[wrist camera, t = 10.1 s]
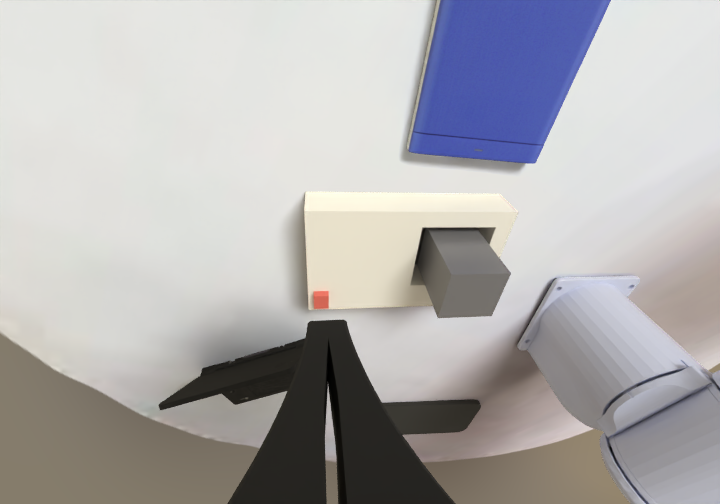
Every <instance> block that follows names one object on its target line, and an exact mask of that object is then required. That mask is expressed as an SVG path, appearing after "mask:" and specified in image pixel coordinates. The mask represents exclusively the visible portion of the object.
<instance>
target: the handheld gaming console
mask: <svg viewBox="0 0 720 504" xmlns="http://www.w3.org/2000/svg"><path fill="white" fill-rule="evenodd" d="M304 342H305V339H301V340H298V341H296V342H292V343H289V344H285V345H284V347H283V346H280V348H279V347H275V348H272V349H268V350H265V351H261V352H258V353H254V354H251V355H248V356H244V357H241V358H238V359H235V361H233V362H232V361H228V362H224V363H221V364H217V365H213V366H209V367H206V368H202V373H201V376H200V377H198V378H196V379H195V380H193V381H192V382H190V383H189V384H187V385H186V386H185V387H183V388H182V389H180V390H179V391H177V392H176V393H174V394H173V395H172V396H170V397H169V398H167V399H166V400H164V401H163V402H161V403H160V404H159V408H160V410H164V409H167V408H171V407H175V406H178V405H182V404H185V403H189V402H192V401H196V400H200V399H203V398H207V397H210V396H214V395H218V394H221V393H222V394H223V395H224V396H225V397H226V398H228V399H229V400H230V401H231V402H232V403H233V404H235V405H236V404H240V403H244V402H247V401H251V400H255V399H259V398H262V397H266V396H270V395H273V394H277V393H281V392H284V391H288V389H289V387H290V384H291V382H292V379H293V377H294V374H295V371H296V368H297V365H298V362H299V359H300V356H301V353H302V350H303V346H304Z"/></svg>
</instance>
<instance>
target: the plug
mask: <svg viewBox="0 0 720 504" xmlns="http://www.w3.org/2000/svg"><path fill="white" fill-rule="evenodd" d="M417 266H418V269H419V271H420V274H421V276H422V279H423V282H424V284H425V287H426V289H427V292H428V294H429V297H430V299H431V302H432V304H433V307H434V309H435V312H436V314H437V317H438V318H451V317H477V316H492V314H493V312H494V310H495V307H496V305H497V303H498V301H499V299H500V296H501V294H502V292H503V290H504V287H505V285H506V283H507V281H508V279H509V276H510V274H511V273H510V272H509V270H508V269H507V268H506V266H505V265H504V264H503V262H502V261H501V260H500V258H499V257H498V256H497V254H496V253H495V252H494V250H493V249H492V248H491V246H490V245H489V244H488V242H487V241H486V240H485V238H484V237H483V236H482V234H481V233H480V232H479V230H478V229H477V228H476V227H425V232H424V236H423V241H422V246H421V250H420V255H419V259H418V264H417Z"/></svg>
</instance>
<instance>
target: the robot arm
mask: <svg viewBox="0 0 720 504" xmlns="http://www.w3.org/2000/svg"><path fill="white" fill-rule="evenodd" d="M639 282H640V279H639V278H638V277H637V276H601V277H561V278H557V279H555V280H554V281H553V283H552V285H551V287H550V288H549V290H548V292H547V294H546V296H545V297H544V299H543V301H542V303H541V304H540V306H539V308H538V310H537V311H536V313H535V315H534V317H533V318H532V320H531V322H530V324H529V325H528V327H527V329H526V331H525V333H524V334H523V336H522V338H521V340H520V341H519V343H518V345H517V347H518V349H519V350H528V352H529V353H530V355H531V357H532V358H533V360H534V361H535V363H536V365H537V366H538V368H539V369H540V371H541V373H542V374H543V376H544V377H545V379H546V380H547V382H548V384H549V385H550V387H551V388H552V390H553V392H554V393H555V395H556V396H557V398H558V400H559V401H560V402H561V404H562V405H563V406H564V407H565V409H566V410H567V411H568V412H569V413H570V414H571V415H573V416H574V417H575V418H576V419H578V420H579V421H580V422H582V423H583V424H585V425H587V426H589V427H591V428H594V429H597V430H601V431H603V432H604V433H603V434H602V435H601V438H600V447H601V453H602V458H603V461H604V463H605V466H606V468H607V470H608V472H609V474H610V476H611V477H612V479H613V481H614V482H615V484H616V485H617V487H618V488H619V489H620V491H621V492H622V494H623V495H624V496H625V497H626V499H627V500H628V501H629V502H630V503H631V504H720V370H719V371H717V372H715V373H712V372H710V371H708V370H707V369H705V368H704V367H703V366H702V365H701V364H700V363H699V362H698V361H697V360H696V359H694V358H693V357H692V356H691V355H690V354H689V353H688V352H687V351H686V350H684V349H683V348H682V347H681V346H680V345H679V344H678V343H677V342H676V341H675V340H673V339H672V338H671V337H670V336H669V335H668V334H667V333H666V332H665V331H664V330H662V329H661V328H660V327H659V326H658V325H657V324H656V323H655V322H654V321H652V320H651V319H650V318H649V317H648V316H647V315H646V314H645V313H644V312H643V311H641V310H640V309H639V308H638V307H637V306H636V305H635V304H634V303H633V302H632V301H630V300H629V299H628V298H627V297H628V296H629V295H630V293H631V292H632V291H633V290H634V288H635V287H636V286H637V285H638V283H639ZM328 386H329V394H330V402H331V411H332V419H333V427H334V435H335V444H336V456H337V480H338V504H455V503H454V501H453V500H452V499H451V498H450V497H449V496H448V494H447V493H446V492H445V491H444V490H443V488H442V487H441V486H440V485H439V484H438V483H437V481H436V480H435V479H434V477H433V476H432V475H431V473H430V472H429V471H428V470H427V468H426V467H425V466H424V465H423V463H422V462H421V460H420V459H419V458H418V456H417V455H416V454H415V452H414V451H413V449H412V448H411V447H410V445H409V444H408V443H407V441H406V440H405V438H404V437H403V436H402V434H401V433H400V431H399V430H398V428H397V426H396V425H395V423H394V422H393V420H392V419H391V417H390V416H389V414H388V412H387V411H386V409H385V407H384V406H383V404H382V402H381V401H380V399H379V397H378V395H377V393H376V392H375V390H374V388H373V386H372V384H371V382H370V380H369V378H368V376H367V374H366V372H365V370H364V368H363V366H362V364H361V361H360V359H359V357H358V355H357V352H356V350H355V347H354V345H353V342H352V339H351V336H350V333H349V330H348V326H347V322H346V321H345V320H326V321H310V322H309V323H308V327H307V333H306V338H305V342H304V346H303V350H302V353H301V356H300V359H299V362H298V365H297V368H296V371H295V374H294V377H293V379H292V382H291V384H290V387H289V389H288V391H287V394H286V396H285V399H284V401H283V403H282V406H281V408H280V410H279V412H278V414H277V416H276V418H275V420H274V422H273V425H272V427H271V429H270V431H269V433H268V434H267V436H266V438H265V440H264V442H263V444H262V446H261V448H260V450H259V451H258V453H257V455H256V457H255V459H254V461H253V462H252V464H251V466H250V467H249V469H248V471H247V472H246V474H245V476H244V478H243V479H242V481H241V482H240V484H239V486H238V487H237V489H236V491H235V492H234V494H233V496H232V498H231V499H230V501H229V502H228V504H326V469H325V424H326V406H327V389H328Z"/></svg>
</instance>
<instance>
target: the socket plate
mask: <svg viewBox="0 0 720 504" xmlns="http://www.w3.org/2000/svg"><path fill="white" fill-rule="evenodd" d="M517 214H518V211H517V210H516V209H515V208H514V207H513V206H512V205H511V204H510V203H509V202H508V201H507V200H506V199H505V198H504V197H502V196H501V195H500V194H465V193H378V192H306V193H305V206H304V218H305V240H306V262H307V283H308V305H309V310H321V309H350V308H379V307H409V306H433V304H432V302H431V299H430V297H429V294H428V292H427V289H426V287H425V284H424V282H423V279H422V276H421V274H420V271H419V269H418V266H417V264H418V259H419V255H420V250H421V246H422V241H423V236H424V232H425V227H476V228H477V229H478V230H479V232H480V233H481V234H482V236H483V237H484V238H485V240H486V241H487V242H488V244H489V245H490V246H491V248H492V249H493V250H494V252H495V253H496V254H497V256H498V257H499V258H500V256H501V254H502V251H503V249H504V246H505V244H506V241H507V239H508V236H509V234H510V232H511V229H512V227H513V224H514V222H515V219H516V217H517Z"/></svg>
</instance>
